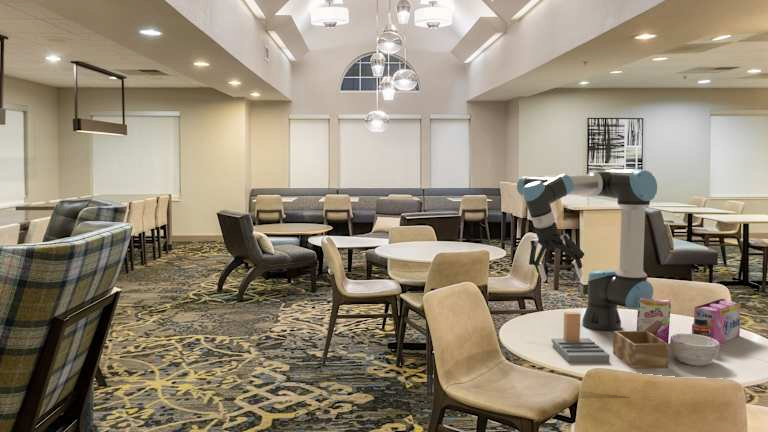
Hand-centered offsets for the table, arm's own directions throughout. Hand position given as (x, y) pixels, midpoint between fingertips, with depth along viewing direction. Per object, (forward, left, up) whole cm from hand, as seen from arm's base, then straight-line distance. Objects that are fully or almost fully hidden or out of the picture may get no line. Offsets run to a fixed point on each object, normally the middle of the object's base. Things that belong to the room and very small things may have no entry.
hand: (562, 278), depth 230 cm
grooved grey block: (+5, +5, -26) cm, 27 cm away
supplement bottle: (+2, +51, -26) cm, 57 cm away
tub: (+13, +23, -26) cm, 37 cm away
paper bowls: (+15, +41, -26) cm, 51 cm away
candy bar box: (-7, +37, -26) cm, 46 cm away
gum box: (-11, +64, -26) cm, 70 cm away
